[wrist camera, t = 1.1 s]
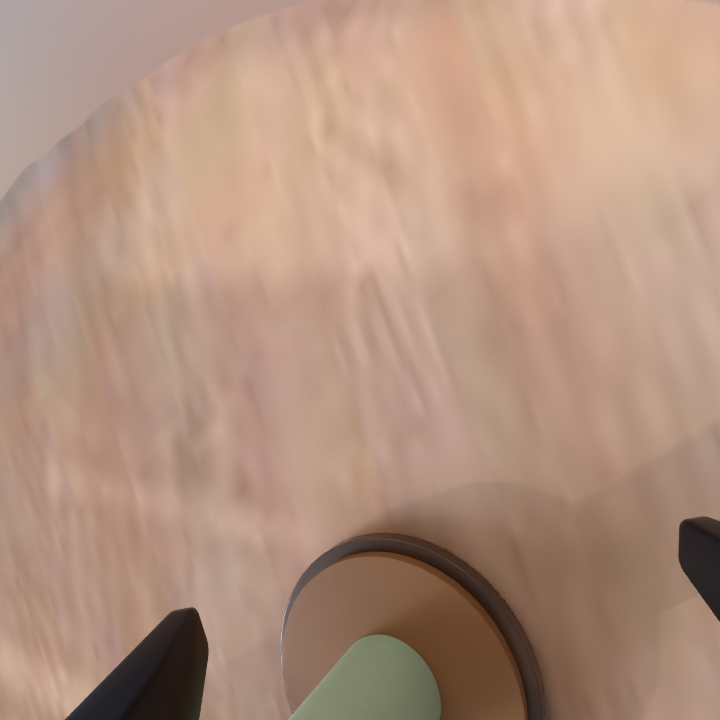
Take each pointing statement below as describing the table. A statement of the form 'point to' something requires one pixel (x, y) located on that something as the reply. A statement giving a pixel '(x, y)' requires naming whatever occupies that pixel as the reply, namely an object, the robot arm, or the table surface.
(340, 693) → the soap bottle
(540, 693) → the base
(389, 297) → the table surface
